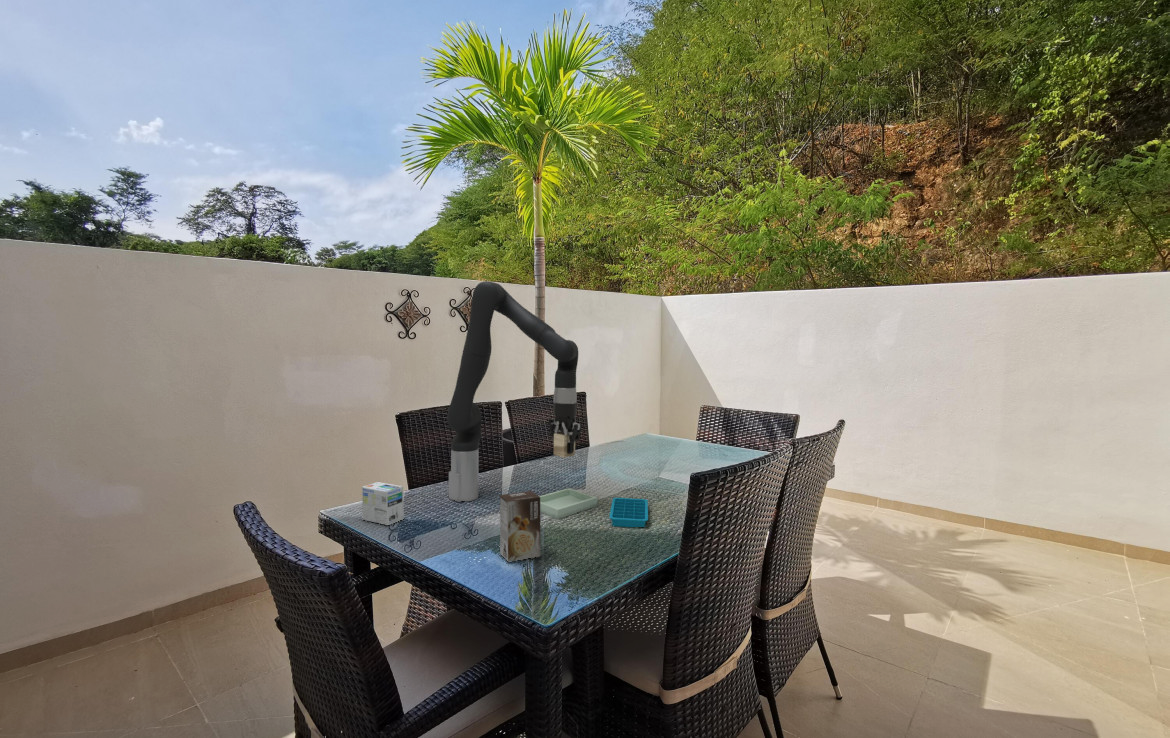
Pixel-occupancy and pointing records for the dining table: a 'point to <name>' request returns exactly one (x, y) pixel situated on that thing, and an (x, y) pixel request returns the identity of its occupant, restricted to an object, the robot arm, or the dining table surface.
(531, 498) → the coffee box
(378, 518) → the light bulb box
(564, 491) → the tray
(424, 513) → the dining table surface
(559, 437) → the birch block
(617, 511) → the ice cube tray
